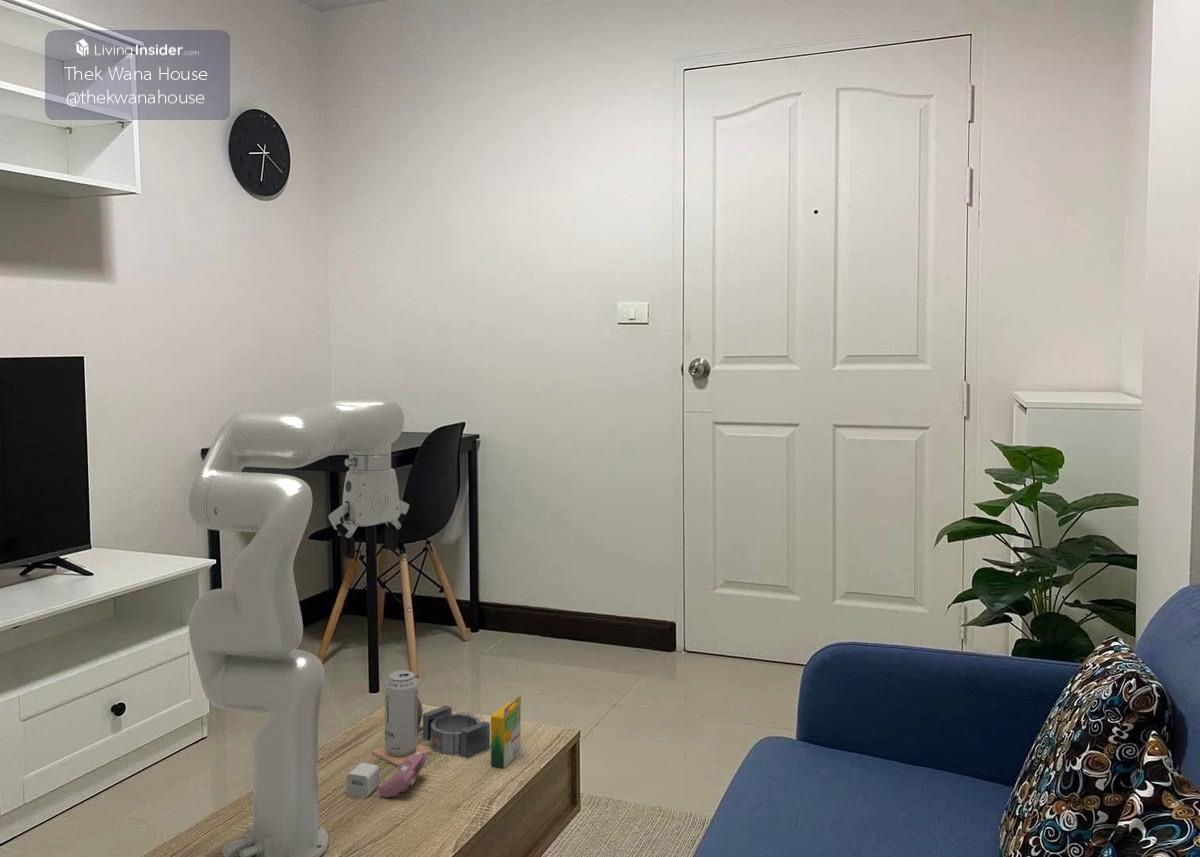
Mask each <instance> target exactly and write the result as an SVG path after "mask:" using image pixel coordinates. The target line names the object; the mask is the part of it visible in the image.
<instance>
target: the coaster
mask: <svg viewBox="0 0 1200 857" xmlns="http://www.w3.org/2000/svg"><path fill="white" fill-rule="evenodd" d="M416 751H417V752H418V753H422V754H425V755H426V756H428V755H431V754H432V753H433V749H430V748H428V747H426V746H424V745H422V744H419V743H417V747H416V748H415V749H414V752H413V753H415V752H416ZM413 753H412V754H413ZM371 754H372V755H373V756H376V757H378V758H379V759H382V760H383V761H385V760H386V761H385V762H387V763H389V762H390V764H391V763H392V765H394V766H395V765H396V766H395V767H396V768H398V767H399V766H400V764H401V763H403V761H404V759H405V758H406V757H407V756H409V755H407V756H403V757H396V756H392V755H390V754H389V753H388V751H387V750H386V749H385V745H383V746H382V747H378V748H375V749H373V750H371ZM412 754H410V755H412Z"/></svg>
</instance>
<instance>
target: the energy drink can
mask: <svg viewBox="0 0 1200 857" xmlns="http://www.w3.org/2000/svg"><path fill="white" fill-rule="evenodd" d="M387 677H388V678H387V680H386V681H385V683H384V746H385V749H386V750H387V751H388V753H389V754H390V755H392V756H396V757H403V756H407V755H410V754H412V753H413V752H414V749H415V748H416V747H417V744H418V728H417V706H418V698H419V697H418V695H419V694H418V693H419V692H418V689H419V688H418V687H419V685H418V684H419V683H418V680H417V678H416V677H415V673H414V671H410V670H405V669H402V670H401V669H400V670H395V671H391V672H390V673H388V676H387Z"/></svg>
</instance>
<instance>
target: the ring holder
mask: <svg viewBox="0 0 1200 857" xmlns="http://www.w3.org/2000/svg"><path fill="white" fill-rule="evenodd" d="M452 710H453V708H452V707H451V706H449V705H443V706H441V707H438V708H436V709H435V708H434V709H431V710H430V711H427V712H423V715H422V739H424V740H426V739H427V740H426V741H429V743H430V746H431V750H434V751H436V752H439V753H440V754H445V753H446V754H447V755H460V756H461V757H462V758H464V757H465V758H464V759H468V758H470V757H472V755H473V756H475V755H477V754H480V753H482V752H485V751H487V750H489V749H491V722H488V721H481V719H480V718H479V717H477V716H474V715H472V714H469V713H467V714H466V713H457V712H456V713H452ZM488 748H489V749H488ZM486 749H487V750H486ZM481 751H482V752H481ZM479 752H480V753H479ZM476 753H477V754H476ZM474 754H475V755H474ZM467 757H468V758H467Z"/></svg>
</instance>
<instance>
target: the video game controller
mask: <svg viewBox="0 0 1200 857" xmlns="http://www.w3.org/2000/svg"><path fill="white" fill-rule="evenodd" d="M427 760H428V755H425V754H422V753H418V752H417V751H416V752H415V753H413V754H412V755H409V756H407V757H406V758H405V759H404V761H403V763H401V764H400V766H399V767H397V772H396V773H395V774H394V775H393V776H392V777H391V778H390V779H389V780H387V781H386V782H384V783H383V784H382V785H381V786H380V788H379V789H378V790H379V792H378V793H379V795H380V796H381V797H382V798H391V797H394V796H396V795H397V794H398V793H400V792H402V793H405V792H406V791H407V789H408V788H409V786H413V785H414V783H415V782H416V781H417V779H418V777H417V776H418V774H419V773H420V771H421V770H422V769H423V768H424V766H425V764H426V762H427Z"/></svg>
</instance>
